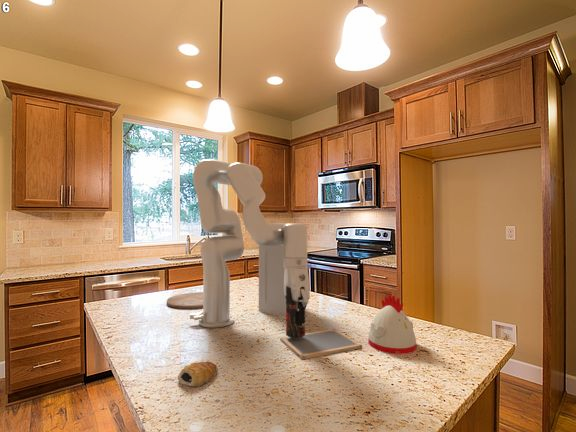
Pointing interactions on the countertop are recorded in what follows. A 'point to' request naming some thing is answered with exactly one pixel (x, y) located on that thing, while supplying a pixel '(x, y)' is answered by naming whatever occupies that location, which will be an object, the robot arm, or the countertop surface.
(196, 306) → the trivet
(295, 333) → the deodorant
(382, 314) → the kitchen timer
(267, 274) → the tall white carton
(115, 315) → the countertop surface
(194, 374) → the pastry
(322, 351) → the slate board
